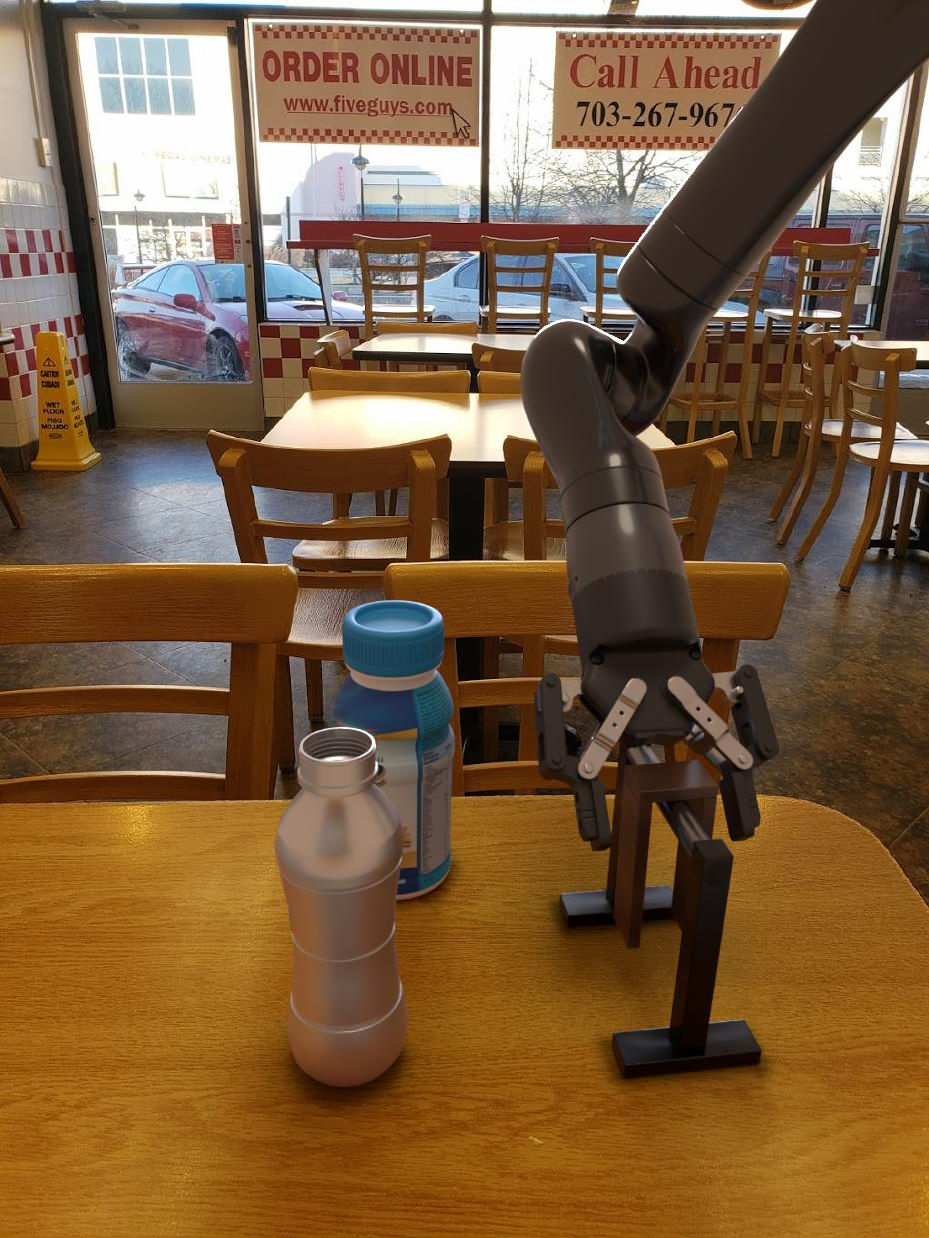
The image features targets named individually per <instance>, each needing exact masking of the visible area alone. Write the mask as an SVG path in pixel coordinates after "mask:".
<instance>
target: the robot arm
mask: <svg viewBox="0 0 929 1238" xmlns="http://www.w3.org/2000/svg"><path fill="white" fill-rule="evenodd" d="M928 61H929V0H815V1H814V4H813V5H812V6H811V8H810V10H809V12H808V13H807V15H806V17H805V18H804V19H803V20H802V23H801V24H800V26H799V27H798V29H797V31H795V33H794V35H792V38H791V39H790V40H789V42H788V44H787V45H786V47H785V48H784V50H783V51H782V53H781V54H780V55H779V57H778V58H777V60H776V61H775V62H774V64H773V65H772V67H771V69H770V70H769V71H768V73H767V74H766V76H765V77H764V78H763V80H762V81H761V82H760V84H759V85H758V86H757V87H756V89H755V90H754V91H753V93H752V94H751V96H750V97H749V98H748V99H747V101H746V102H745V103H744V105H743V106H742V107H741V109H740V110H739V111H738V113H736V115H735V116H734V118H733V119H732V120H731V121H730V123H729V124H727V126H726V127H725V129H724V130H723V131H722V133H721V134H720V135H719V137H718V138H717V139H716V140H715V141H714V142H713V144H712V145H711V146H710V148H709V149H708V151H707V152H705V154H704V155H703V156H702V158H701V159H700V160H699V161H698V163H697V164H696V165H695V166H694V168H693V169H692V170H691V172H690V173H689V174H688V176H686V178H685V179H684V180H683V182H681V184H680V186H679V187H678V188H677V189H676V190H675V192H674V193H673V195H671V197H670V199H669V200H668V201H667V203H666V204H665V205H664V207H662V209H661V210H660V212H659V213H658V214H657V215H656V217H655V218H654V219H653V221H652V222H651V223H650V225H649V226H648V227H647V229H646V230H645V232H644V233H642V235H641V237H640V238H639V240H638V242H636V243H635V245H634V246H633V247H632V249H631V250H630V252H629V253H628V255H627V256H626V257H625V259H624V260H623V262H622V263H621V265H620V267H619V269H618V271H617V274H616V277H615V287H616V290H617V293H618V294H619V297H620V298H621V300H622V302H623V303H624V304H625V305H626V306H627V307H628V309H629V310H630V311H631V312H632V313H633V314H634V315H635V316H636V320H635V323H634V325H633V328H632V330H631V332H630V334H629V335H628V337H627V338H626V339H625V340H624V341H623V340H621V339H619V338H617V337H615V336H613V335H611V334H609V333H607V332H604V331H603V330H601V329H599V328H597V327H595V326H593V325H591V324H589V323H586V322H584V321H579V320H575V319H561V320H560V319H559V320H556V321H554V322H552V323H550V324H548V325H546V326H544V327H543V328H542V329H540V330H539V332H537V333H536V334H535V336H534V337H533V338H532V339H531V341H530V342H529V345H528V347H527V349H526V351H525V353H524V355H523V358H522V362H521V369H520V376H519V389H520V396H521V401H522V406H523V409H524V413H525V416H526V418H527V421H528V423H529V426H530V428H531V431H532V433H533V435H534V438H535V440H536V442H537V445H538V447H539V449H540V451H541V454H542V456H543V458H544V461H545V463H546V465H547V467H548V470H549V471H550V474H551V475H552V477H553V478H554V480H555V482H556V485H557V488H558V494H559V502H560V509H561V514H562V522H563V527H564V528H563V529H564V535H565V545H566V546H565V547H566V548H565V549H566V556H565V557H566V563H565V564H566V574H567V575H566V576H567V593H568V596H569V598H570V601H571V609H572V615H573V622H574V627H575V634H576V641H577V642H576V643H577V647H578V655H579V661H580V666H581V677H580V679H561V678H560V676H559V675H558V674H556V673H553V672H546V673H545V674H544V675H542V677H541V679H540V681H539V682H538V683H537V686H536V688H535V689H534V692H533V700H534V701H533V702H534V717H535V718H534V719H535V734H536V735H535V736H536V749H537V750H536V751H537V763H538V764H537V765H538V774H539V775H540V777H541V778H542V779H544V780H546V781H552V780H555V781H558V782H561V783H563V784H564V783H565V784H566V785H568V786H569V787H570V789H571V790H572V794H573V801H574V809H575V815H576V822H577V831H578V835H579V837H580V838H581V840H582V842H583V843H585V842H587V843H588V842H589V844H590V849H591V851H592V852H603V851H607V850H608V849H610V847H611V844H612V837H611V833H612V829H611V824H610V819H609V811H608V806H607V805H608V804H607V797H606V791H605V785H604V780H599V777H598V774H599V773H600V771H601V769H602V767H603V766H604V764H605V762H606V761H607V759H608V757H609V755H610V754H611V752H612V750H613V749H614V747H615V746H616V745H617V742H618V743H619V744H620V743H621V744H624V745H626V748H635V747H641V746H644V745H647V744H650V743H651V745H658V746H661V747H666V746H667V747H668V746H669V747H670V746H676V745H677V744H678V743H679V742H683V743H684V744H685V745H686V746H687V747H688V748H689V750H690V751H692V752H693V753H694V754H695V755H697V756H700V757H702V758H704V759H705V761H706V762H708V763H709V765H710V766H712V768H713V769H714V770H715V771H717V773H718V774H719V775H720V776H721V777H722V779H720V780H719V781H718V783H717V784H718V789H719V792H720V797H721V802H722V807H723V811H724V816H725V822H726V827H727V832H728V836H729V839H730V841H731V842H732V843H734V842H745V841H747V840H749V839H751V838H753V837H754V836H755V835H756V833H755V832H756V829H755V828H757V827H759V826H760V825H761V824H760V823H761V818H762V816H761V811H760V806H759V802H758V797H757V792H756V787H755V783H754V778H753V772H754V769H755V768H756V769H757V768H759V767H761V766H763V765H764V764H765V763H766V762H768V761H770V760H772V759H774V758H775V757H776V756H778V754H779V753H780V746H779V742H778V738H777V736H776V732H775V728H774V725H773V722H772V718H771V715H770V712H769V708H768V705H767V701H766V697H765V694H764V691H763V688H762V683H761V681H760V677H759V674H758V670H757V669H756V668H755V667H754V666H753V665H751V664H747V663H745V664H743V665H741V666H739V668H737V669H736V670H733V671H732V670H731V671H723V672H715V673H712V672H711V671H710V669H709V668H708V667H707V665H706V664H705V662H704V659H703V655H702V645H701V639H700V638H701V637H700V634H699V629H698V623H697V618H696V615H695V610H694V605H693V599H692V595H691V590H690V585H689V581H688V576H687V571H686V566H685V563H684V562H685V560H684V556H683V552H682V548H681V544H680V541H679V538H678V535H677V533H676V531H675V527H674V525H673V521H672V517H671V513H670V507H669V502H668V498H667V493H666V487H665V483H664V478H663V474H662V469H661V466H660V463H659V461H658V458H657V456H656V454H655V453H654V452H653V450H652V449H651V447H650V446H649V445H648V444H646V443H645V442H644V441H643V440H641V439H640V438H639V437H637V436H639V435H640V434H642V433H644V432H645V431H646V430H647V429H648V428H650V427H651V426H652V425H653V424H654V423H655V421H656V420H657V419H658V418H659V417H660V415H661V414H662V412H663V411H664V409H665V408H666V406H667V404H668V402H669V400H670V398H671V396H672V394H673V392H674V390H675V388H676V386H677V384H678V382H679V380H680V378H681V376H682V374H683V372H684V370H685V369H686V366H687V364H688V362H689V360H690V358H691V357H692V355H693V353H694V350H695V348H696V346H697V344H698V342H699V339H700V338H701V336H702V333H703V332H704V329H705V328H706V326H707V325H708V323H709V322H710V321H711V320H712V319H713V318H714V316H716V314H717V313H718V312H719V311H720V309H722V308H723V306H724V305H725V304H726V303H727V302H728V300H729V299H731V297H732V295H734V293H735V292H736V291H737V290H738V288H739V287H740V286H741V285H742V284H743V282H744V281H745V280H746V279H747V278H748V276H749V275H751V273H752V272H753V271H754V270H755V269H756V267H757V266H758V265H759V263H761V262H762V260H763V259H764V257H765V256H766V255H767V254H768V252H769V251H770V250H771V249H772V247H773V246H774V245H775V243H776V242H777V241H778V240H779V238H780V237H781V236H782V234H783V233H784V232H785V230H786V229H787V228H788V226H789V225H790V224H791V222H792V221H793V220H794V218H795V217H796V216H797V214H798V213H799V212H800V210H801V209H802V207H803V206H804V205H805V203H806V202H807V200H808V199H809V198H810V197H811V196H812V194H813V193H814V191H815V189H816V188H817V187H818V186H819V184H820V183H822V180H823V179H824V178H825V177H826V175H827V174H828V172H829V171H830V170H831V168H832V167H833V166H834V164H835V163H836V162H837V161H838V160H839V158H840V157H841V156H842V154H843V153H844V152H845V151H846V149H847V148H848V147H849V145H850V144H852V142H853V141H854V140H855V138H856V137H857V136H858V135H859V134H860V132H861V131H862V130H863V129H864V128H865V127H866V126H867V124H869V122H870V121H871V120H872V119H873V117H874V116H876V114H877V113H878V112H879V111H880V110H881V109H882V108H883V106H884V105H886V103H887V102H888V101H889V100H890V99H891V97H893V95H894V94H895V93H896V92H897V91H899V90H900V89H901V88H902V86H903V85H904V84H905V83H906V82H907V81H908V80H910V78H911V77H912V76H913V75H914V74H915V73H916V72H918V70H919V69H920V68H922V66H924V65H925V64H926V63H927V62H928ZM713 693H715V695H717V696H718V697H719V698H720V701H721V702H722V705H724V706H725V707H728V708H730V711H731V715H732V719H733V723H734V726H735V730H736V734H737V738H738V740H737V738H736V737H734V736H733V734H731V732H730V729H729V726H728V724H727V723H726V722H725V720H723V719H722V718H721V717H720V716H719V715H718V714H717V713H716V712H715V711H714V710H713V709H712V708H711V707H710V706H709V705H708V703H709V701H710V699H711V697H712V695H713ZM576 700H578V701H579V702H580V704H581V705H582V706H583V707H584V709H586V710H587V711H588V713H589V714H590V715H591V716H592V717H593V718H594V719H595V721H596V722H598V725H597V727H596V728H595V730H594V732H593V733H592V735H591V737H590V739H589V740H588V742H587V744H586V745H585V747H584V748H583V751H582V753H581V755H580V757H579V758H578V757H575V756H572V755H568V754H567V742H566V729H565V716H566V715H568V713H569V712H570V710H571V709H572V707H573V703H574V701H576Z"/></svg>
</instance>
